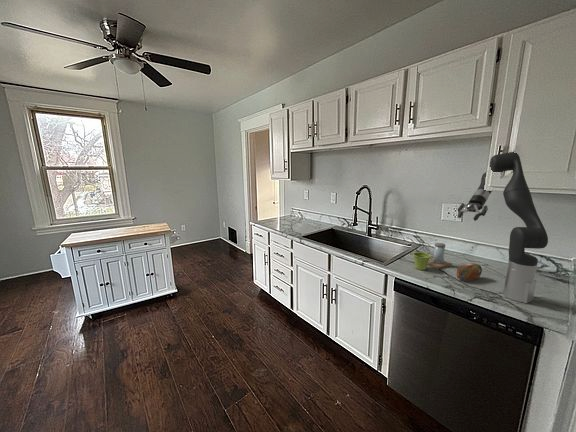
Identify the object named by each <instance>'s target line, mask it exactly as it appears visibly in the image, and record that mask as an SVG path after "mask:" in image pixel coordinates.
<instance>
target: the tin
mask: <svg viewBox="0 0 576 432" xmlns="http://www.w3.org/2000/svg"><path fill="white" fill-rule="evenodd" d="M482 271H483V269H482V265H480V264H479V263H474V262H472V263H467V264H461V265H460V266H458V268H457V269H456V278H457V279H458V280H460V281H463V282H468V281H473V280H478V279H479V278H480V277H481V275H482Z"/></svg>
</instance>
